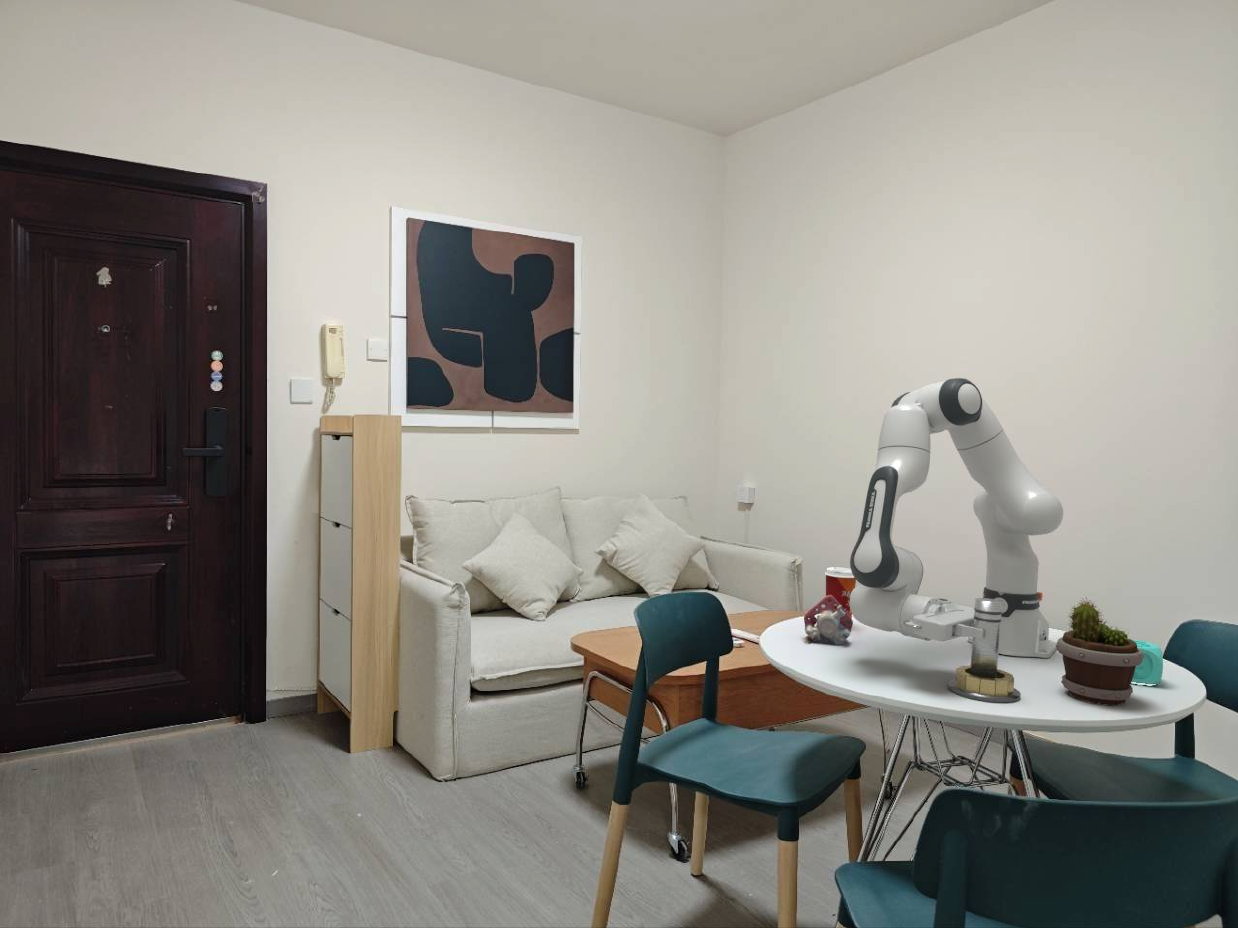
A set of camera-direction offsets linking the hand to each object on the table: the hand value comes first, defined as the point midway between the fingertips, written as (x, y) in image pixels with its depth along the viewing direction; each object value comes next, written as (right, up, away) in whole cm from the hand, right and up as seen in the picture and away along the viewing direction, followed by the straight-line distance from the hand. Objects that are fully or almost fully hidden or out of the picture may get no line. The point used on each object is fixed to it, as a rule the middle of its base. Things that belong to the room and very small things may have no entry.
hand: (991, 631), depth 166 cm
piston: (-1, -9, +1) cm, 9 cm away
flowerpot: (+21, -13, +1) cm, 25 cm away
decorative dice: (+37, -13, +15) cm, 42 cm away
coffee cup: (-16, -9, +53) cm, 56 cm away
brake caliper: (-23, -10, +37) cm, 45 cm away
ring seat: (-1, -12, +1) cm, 12 cm away
